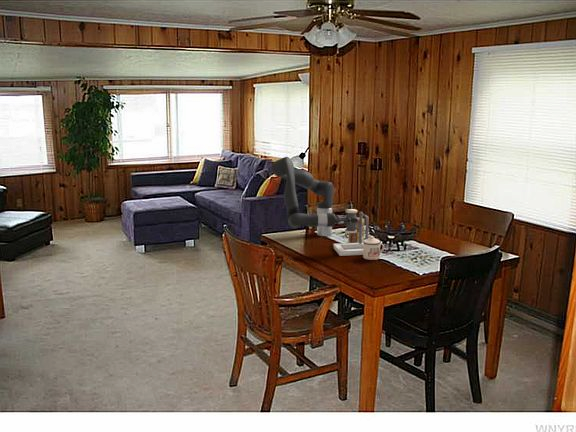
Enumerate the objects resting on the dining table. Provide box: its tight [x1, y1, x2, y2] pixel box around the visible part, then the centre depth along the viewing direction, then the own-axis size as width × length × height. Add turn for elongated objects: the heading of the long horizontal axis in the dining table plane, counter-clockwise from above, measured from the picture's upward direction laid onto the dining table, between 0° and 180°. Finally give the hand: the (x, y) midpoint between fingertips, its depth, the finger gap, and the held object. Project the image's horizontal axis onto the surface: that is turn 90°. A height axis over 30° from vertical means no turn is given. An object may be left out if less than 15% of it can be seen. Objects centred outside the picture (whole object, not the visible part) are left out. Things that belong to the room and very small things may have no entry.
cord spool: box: [344, 208, 358, 234], centre depth 307 cm, size 6×6×12 cm
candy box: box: [347, 216, 365, 243], centre depth 326 cm, size 9×4×15 cm, turn 39°
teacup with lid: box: [362, 235, 385, 261], centre depth 297 cm, size 12×9×12 cm
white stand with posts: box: [333, 211, 370, 257], centre depth 309 cm, size 16×20×21 cm
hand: (355, 219), depth 307 cm, fingers closed on cord spool, 5 cm apart
